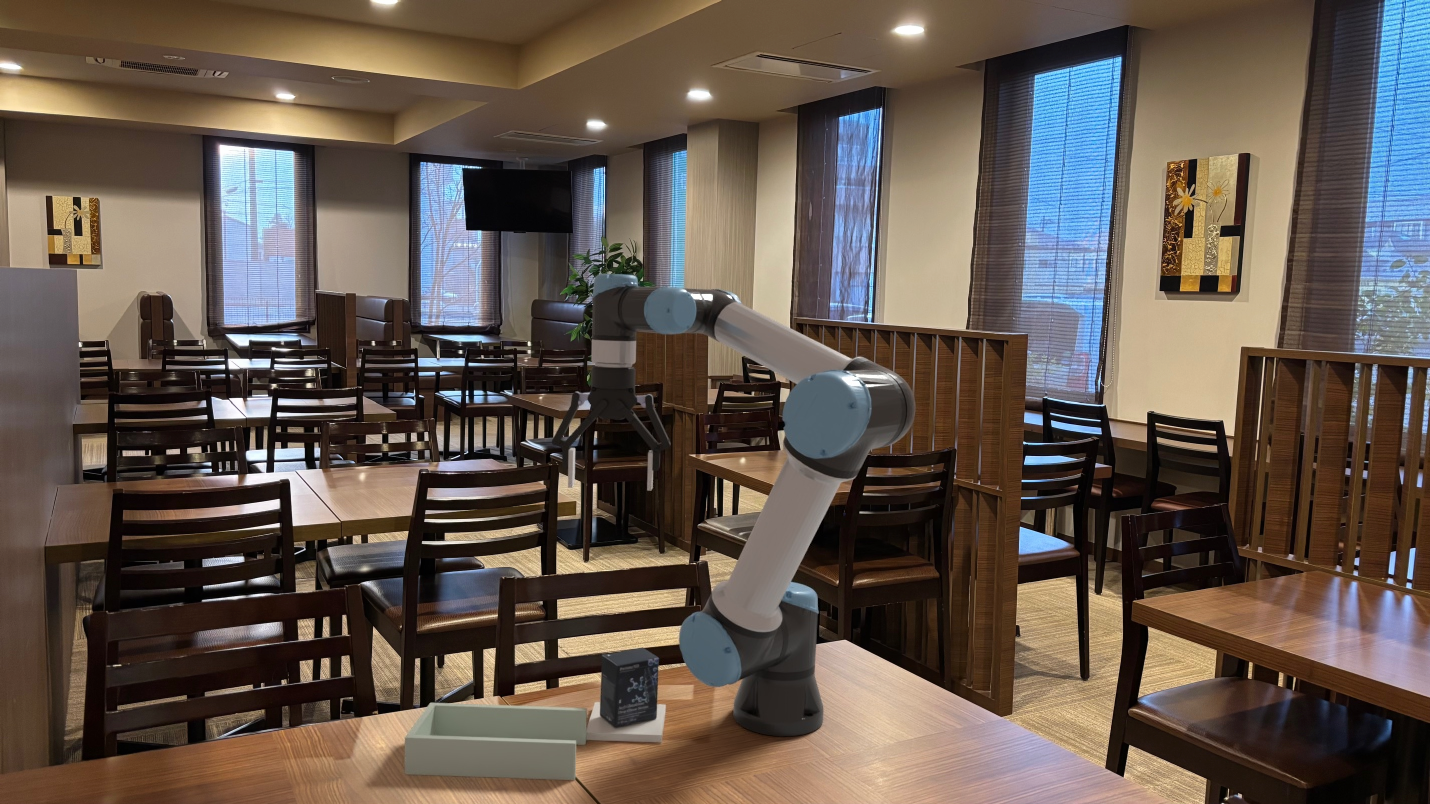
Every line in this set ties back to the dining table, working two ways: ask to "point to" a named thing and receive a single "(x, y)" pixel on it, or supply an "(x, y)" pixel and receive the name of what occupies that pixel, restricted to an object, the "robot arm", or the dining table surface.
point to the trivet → (626, 728)
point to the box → (629, 687)
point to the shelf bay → (496, 741)
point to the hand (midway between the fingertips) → (610, 487)
